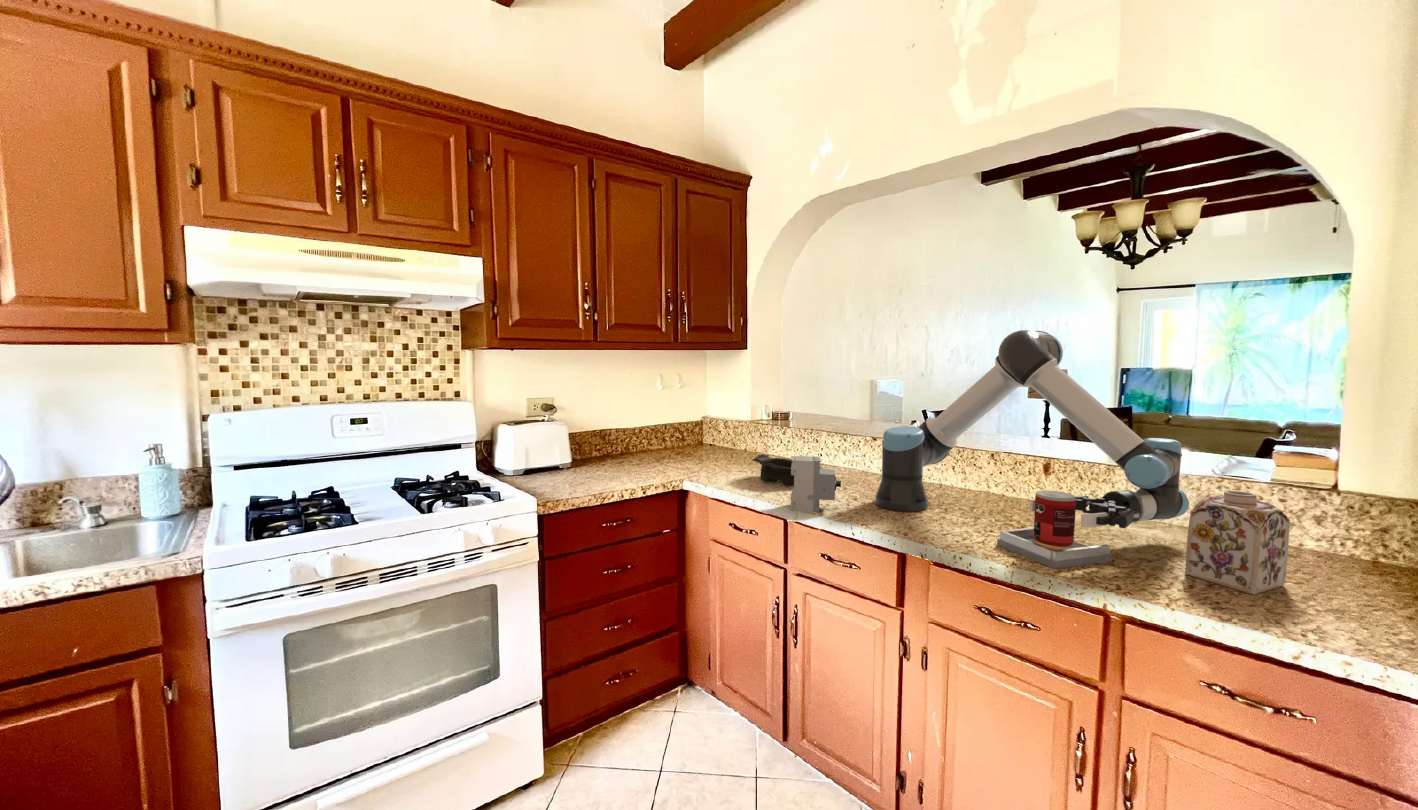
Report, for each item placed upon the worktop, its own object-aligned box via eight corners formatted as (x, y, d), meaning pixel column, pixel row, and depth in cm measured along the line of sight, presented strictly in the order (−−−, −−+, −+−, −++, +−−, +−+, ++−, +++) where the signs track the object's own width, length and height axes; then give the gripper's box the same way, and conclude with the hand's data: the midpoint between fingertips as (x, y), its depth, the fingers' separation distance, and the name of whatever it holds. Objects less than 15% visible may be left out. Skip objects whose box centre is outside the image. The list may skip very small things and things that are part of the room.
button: (1051, 545, 134) (1051, 535, 134) (1077, 555, 128) (1078, 544, 128) (1027, 548, 133) (1027, 538, 132) (1053, 558, 126) (1053, 547, 126)
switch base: (1050, 539, 140) (1050, 525, 140) (1112, 561, 125) (1113, 545, 124) (996, 545, 136) (997, 530, 135) (1054, 568, 120) (1055, 552, 120)
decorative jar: (1254, 596, 107) (1262, 502, 105) (1182, 574, 117) (1188, 489, 116) (1287, 586, 111) (1295, 496, 110) (1215, 566, 122) (1221, 483, 120)
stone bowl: (739, 481, 204) (740, 456, 204) (777, 476, 223) (778, 452, 223) (799, 491, 188) (800, 463, 188) (834, 484, 207) (835, 458, 207)
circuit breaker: (840, 513, 164) (841, 461, 162) (790, 510, 166) (791, 460, 165) (839, 506, 171) (840, 457, 170) (792, 504, 174) (792, 455, 172)
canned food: (1038, 533, 135) (1041, 488, 135) (1077, 541, 130) (1080, 494, 129) (1028, 541, 130) (1030, 494, 129) (1068, 549, 124) (1071, 500, 123)
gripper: (1182, 537, 123) (1106, 546, 117) (1079, 508, 147) (1011, 514, 141) (1184, 503, 122) (1108, 510, 117) (1080, 479, 146) (1013, 484, 141)
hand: (1055, 512), depth 129 cm, fingers open, 13 cm apart
